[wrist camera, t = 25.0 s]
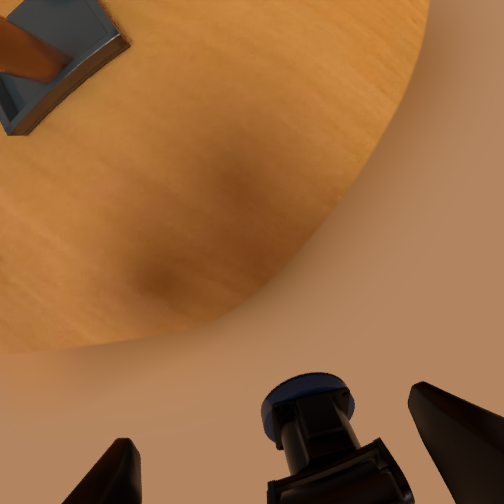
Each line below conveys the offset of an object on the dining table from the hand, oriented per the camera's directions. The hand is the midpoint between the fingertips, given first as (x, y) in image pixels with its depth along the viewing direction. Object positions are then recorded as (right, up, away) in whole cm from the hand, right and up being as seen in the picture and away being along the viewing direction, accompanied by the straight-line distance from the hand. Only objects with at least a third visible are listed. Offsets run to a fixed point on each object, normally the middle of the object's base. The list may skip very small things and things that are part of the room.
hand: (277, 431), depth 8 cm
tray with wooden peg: (-15, +19, +6) cm, 25 cm away
